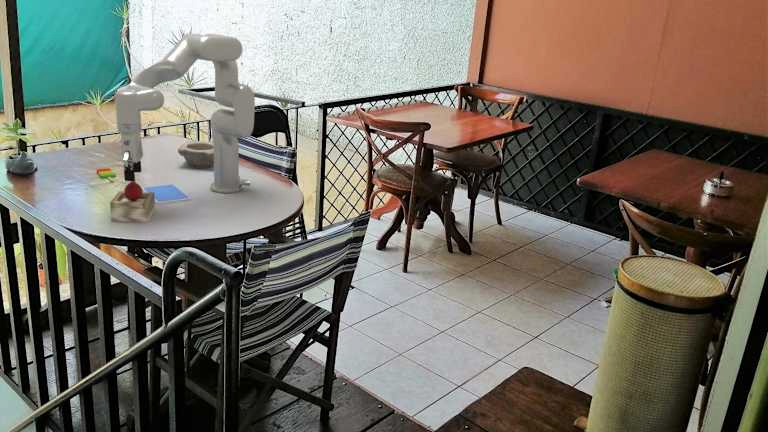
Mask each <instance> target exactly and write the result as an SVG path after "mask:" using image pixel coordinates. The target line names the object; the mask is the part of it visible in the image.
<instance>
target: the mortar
mask: <svg viewBox="0 0 768 432" xmlns="http://www.w3.org/2000/svg"><path fill="white" fill-rule="evenodd" d="M177 152H178V154H179V155H180V157H181V156H182V157H183V158H184V160H185V161H186V163H187V165H188V166H190V168H191V167H192V168H194V169H195V168H196V169H207V168H211V167H214V143H213V142H212V141H204V140H188V141H187V142H183V143H182V144H181V145H180V147H178V149H177Z"/></svg>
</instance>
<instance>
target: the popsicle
mask: <svg viewBox="0 0 768 432" xmlns="http://www.w3.org/2000/svg"><path fill="white" fill-rule="evenodd" d="M96 174H97V175H98V177H99V178H100V179H102V180H105V179H108V180H109V181H110V182H114V179H115V178H117V175H116V173H115V172H113V170H112V169H111V168H101V169H97V170H96Z"/></svg>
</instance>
